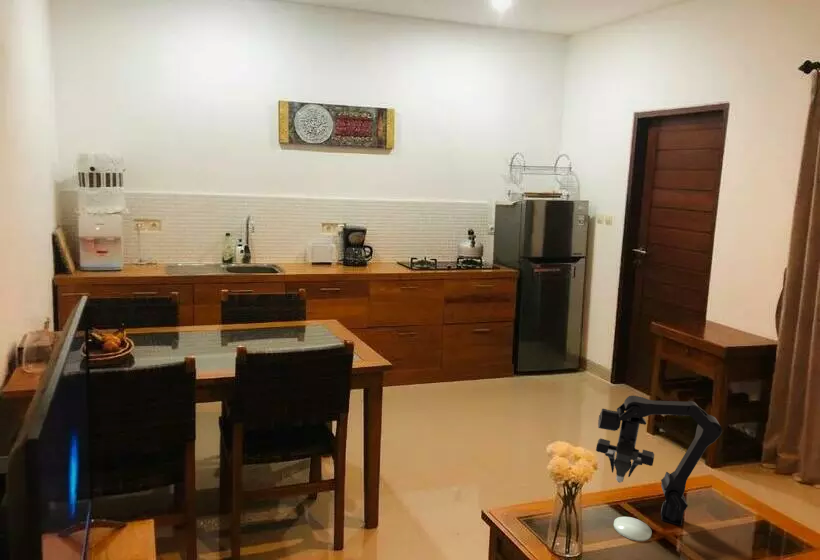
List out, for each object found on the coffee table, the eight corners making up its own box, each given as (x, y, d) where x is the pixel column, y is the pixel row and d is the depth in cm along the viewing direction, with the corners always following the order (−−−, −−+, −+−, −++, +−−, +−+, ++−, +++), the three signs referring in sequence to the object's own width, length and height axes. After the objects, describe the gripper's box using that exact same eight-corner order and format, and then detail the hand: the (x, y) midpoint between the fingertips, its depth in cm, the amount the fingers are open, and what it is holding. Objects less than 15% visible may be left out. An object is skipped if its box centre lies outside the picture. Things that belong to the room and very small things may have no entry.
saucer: (652, 526, 222) (652, 523, 222) (650, 545, 211) (650, 542, 211) (615, 515, 226) (616, 512, 226) (611, 533, 216) (612, 530, 215)
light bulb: (628, 487, 226) (633, 461, 224) (611, 484, 227) (616, 458, 225) (626, 479, 231) (631, 453, 229) (610, 476, 232) (615, 450, 230)
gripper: (597, 434, 221) (590, 476, 225) (656, 449, 214) (647, 492, 218) (601, 422, 231) (594, 463, 235) (657, 436, 224) (649, 478, 228)
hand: (620, 474), depth 228 cm, fingers closed on light bulb, 5 cm apart
